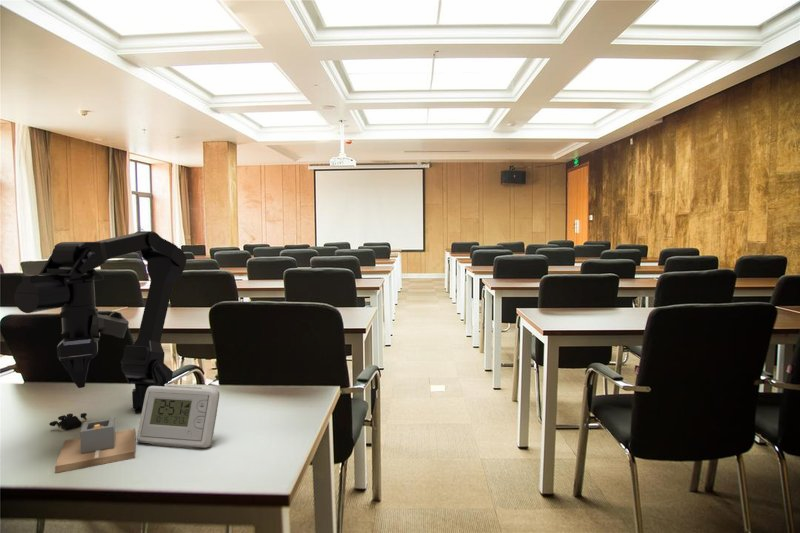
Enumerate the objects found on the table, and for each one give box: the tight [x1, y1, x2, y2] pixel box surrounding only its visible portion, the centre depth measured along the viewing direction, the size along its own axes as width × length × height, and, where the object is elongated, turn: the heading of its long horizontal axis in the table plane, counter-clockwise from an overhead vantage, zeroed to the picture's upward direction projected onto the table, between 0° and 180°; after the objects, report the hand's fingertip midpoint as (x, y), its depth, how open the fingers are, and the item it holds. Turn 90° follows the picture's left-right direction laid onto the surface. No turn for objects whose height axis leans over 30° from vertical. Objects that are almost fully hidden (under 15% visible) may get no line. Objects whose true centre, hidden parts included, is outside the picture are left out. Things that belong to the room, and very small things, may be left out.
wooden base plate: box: [54, 426, 137, 474], centre depth 90 cm, size 12×12×5 cm
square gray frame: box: [79, 417, 116, 453], centre depth 90 cm, size 5×5×5 cm
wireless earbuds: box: [48, 412, 88, 431], centre depth 102 cm, size 7×2×5 cm
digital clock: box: [136, 385, 220, 449], centre depth 95 cm, size 16×9×11 cm, turn 69°
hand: (82, 381), depth 96 cm, fingers open, 9 cm apart
